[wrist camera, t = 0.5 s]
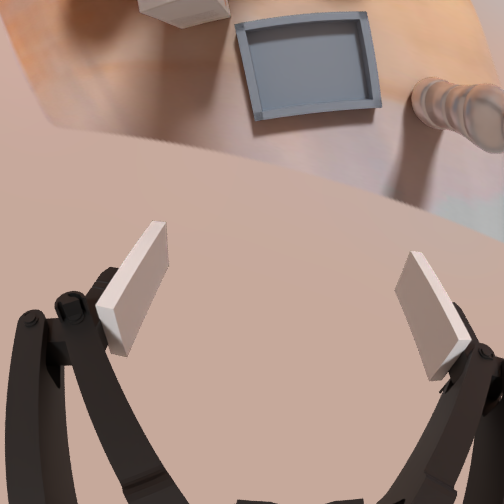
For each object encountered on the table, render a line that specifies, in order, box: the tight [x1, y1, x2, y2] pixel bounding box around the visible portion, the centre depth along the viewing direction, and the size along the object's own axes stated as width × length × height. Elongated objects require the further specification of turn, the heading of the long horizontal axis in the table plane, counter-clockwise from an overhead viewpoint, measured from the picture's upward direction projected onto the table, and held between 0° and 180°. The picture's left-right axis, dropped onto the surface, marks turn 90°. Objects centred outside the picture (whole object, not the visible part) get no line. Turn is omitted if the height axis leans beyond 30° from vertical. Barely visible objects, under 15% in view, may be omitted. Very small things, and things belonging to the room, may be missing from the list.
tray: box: [234, 12, 382, 121], centre depth 30 cm, size 12×15×2 cm
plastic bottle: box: [411, 77, 504, 153], centre depth 23 cm, size 6×7×20 cm
